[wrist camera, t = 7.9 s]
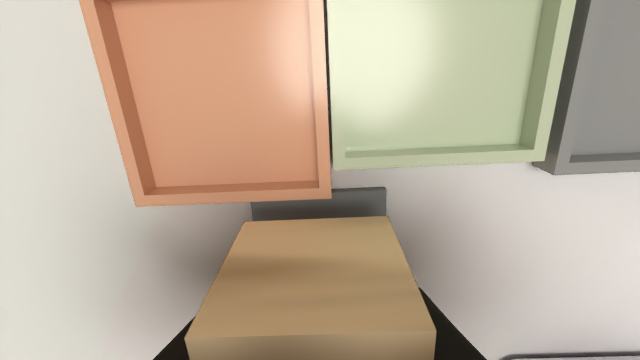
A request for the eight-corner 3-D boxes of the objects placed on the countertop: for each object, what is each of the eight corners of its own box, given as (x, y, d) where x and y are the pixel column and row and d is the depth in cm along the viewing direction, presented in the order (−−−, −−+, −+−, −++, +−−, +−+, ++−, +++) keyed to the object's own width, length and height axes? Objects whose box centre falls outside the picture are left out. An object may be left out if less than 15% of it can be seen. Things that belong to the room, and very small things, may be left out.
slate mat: (382, 296, 13) (383, 301, 13) (266, 299, 14) (265, 305, 13) (384, 186, 12) (386, 189, 11) (251, 192, 12) (249, 195, 12)
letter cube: (385, 328, 11) (422, 489, 7) (260, 332, 11) (222, 491, 7) (387, 216, 10) (437, 333, 5) (244, 221, 10) (183, 340, 6)
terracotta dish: (330, 186, 12) (331, 198, 11) (152, 194, 12) (135, 206, 11) (322, -25, 9) (321, -36, 8) (100, -11, 10) (73, -20, 9)
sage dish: (524, 152, 11) (544, 161, 10) (332, 160, 11) (333, 170, 10) (564, -82, 9) (596, -101, 8) (323, -66, 9) (323, -83, 8)
